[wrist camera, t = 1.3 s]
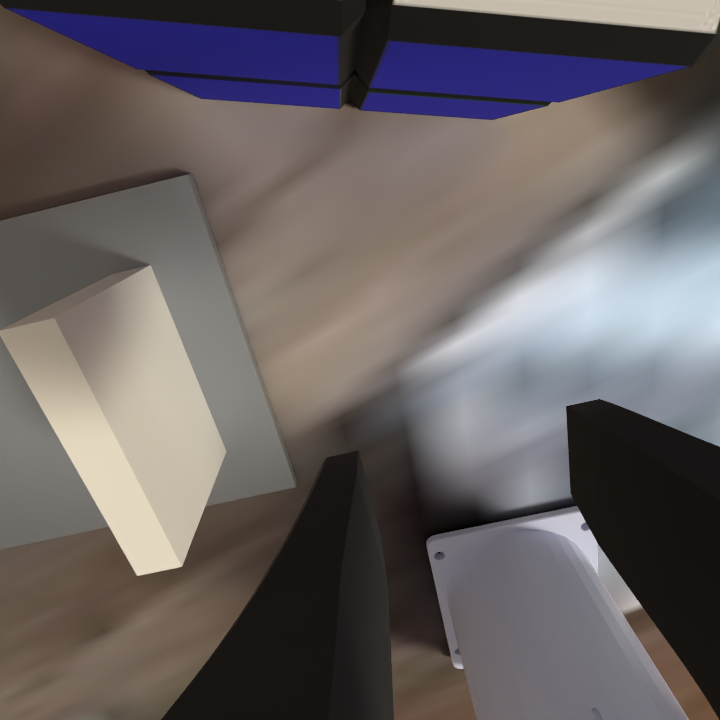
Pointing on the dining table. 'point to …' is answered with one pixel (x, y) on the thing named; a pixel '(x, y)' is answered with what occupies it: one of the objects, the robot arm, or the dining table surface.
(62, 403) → the block
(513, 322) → the dining table surface
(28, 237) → the slate mat
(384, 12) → the puzzle cube
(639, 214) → the dining table surface
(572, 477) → the robot arm
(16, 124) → the dining table surface
